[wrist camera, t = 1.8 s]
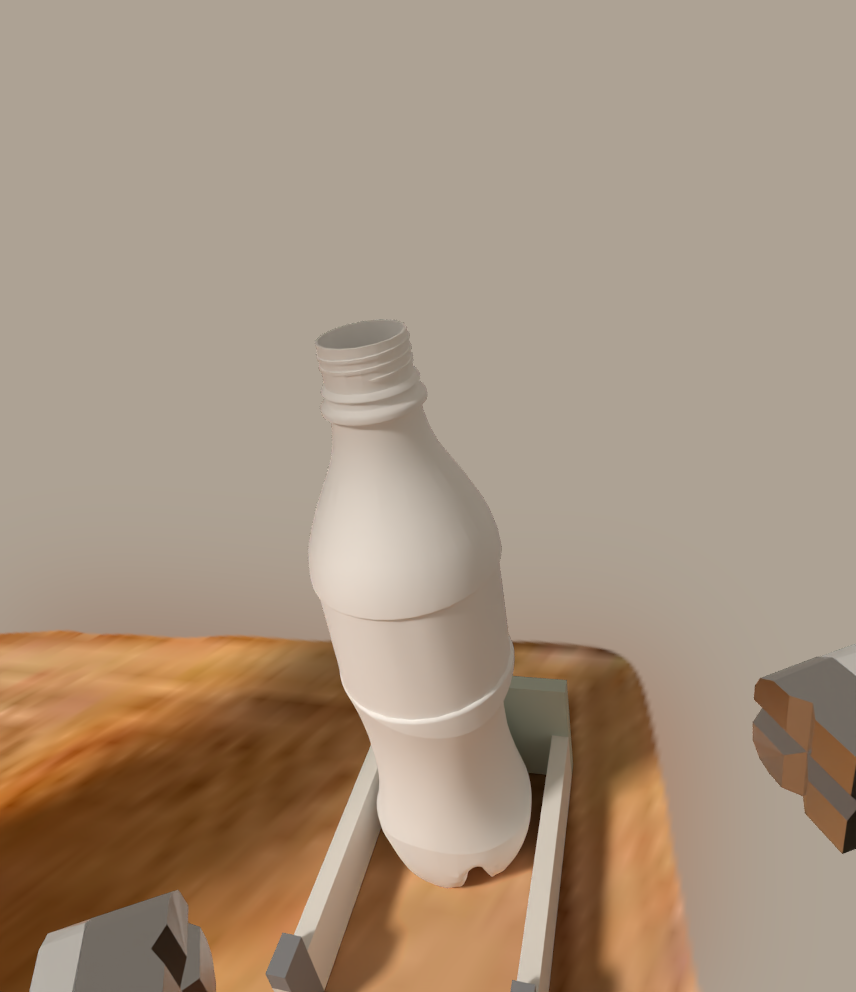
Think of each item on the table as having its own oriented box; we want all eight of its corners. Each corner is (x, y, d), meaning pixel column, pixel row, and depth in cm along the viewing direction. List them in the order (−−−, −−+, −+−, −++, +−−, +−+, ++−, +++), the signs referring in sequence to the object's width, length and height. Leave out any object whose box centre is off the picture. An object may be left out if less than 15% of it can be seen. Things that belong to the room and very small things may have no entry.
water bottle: (553, 792, 36) (504, 296, 24) (510, 930, 30) (417, 376, 18) (423, 759, 39) (321, 304, 27) (363, 880, 33) (199, 376, 21)
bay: (292, 1027, 28) (250, 944, 25) (395, 745, 40) (375, 665, 37) (538, 1088, 25) (523, 1002, 22) (573, 765, 37) (566, 680, 34)
